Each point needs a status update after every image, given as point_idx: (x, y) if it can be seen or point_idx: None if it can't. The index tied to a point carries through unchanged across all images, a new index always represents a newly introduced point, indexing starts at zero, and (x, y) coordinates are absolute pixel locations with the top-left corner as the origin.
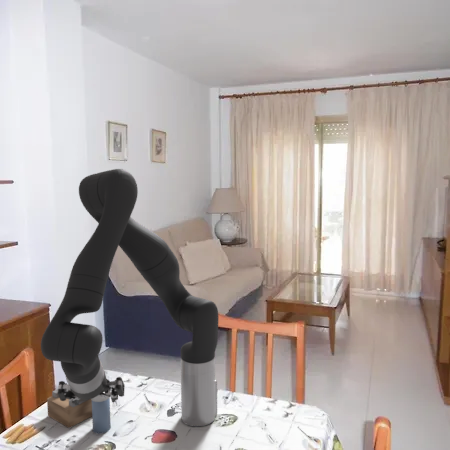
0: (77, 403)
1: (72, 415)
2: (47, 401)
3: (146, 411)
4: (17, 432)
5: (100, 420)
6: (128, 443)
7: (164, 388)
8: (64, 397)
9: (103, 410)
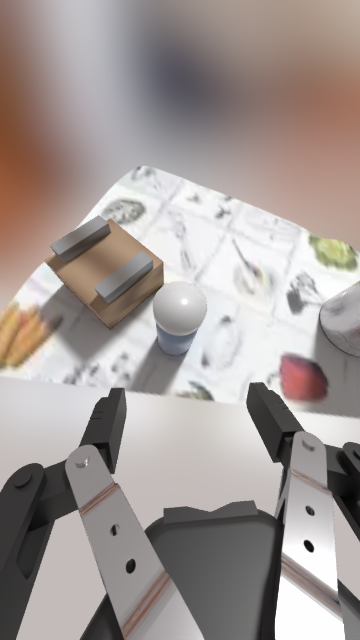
0: (122, 431)
1: (111, 314)
2: (48, 265)
3: (248, 293)
4: (7, 330)
5: (178, 348)
6: (238, 397)
7: (264, 229)
8: (31, 580)
9: (187, 340)
